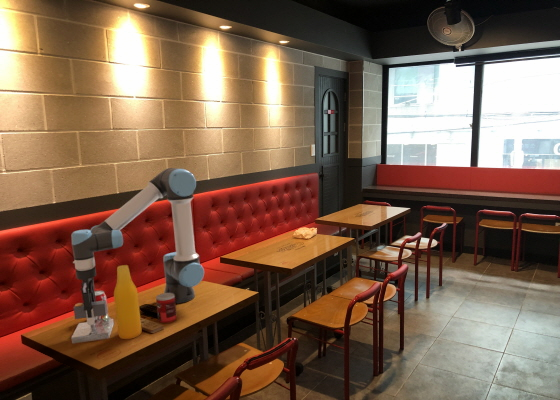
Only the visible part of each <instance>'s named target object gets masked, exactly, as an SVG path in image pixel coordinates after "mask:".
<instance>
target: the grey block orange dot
mask: <svg viewBox="0 0 560 400" xmlns="http://www.w3.org/2000/svg"><path fill="white" fill-rule="evenodd" d="M107 307H108V303H107V304H106V300H104V301H96V302H92V309H93V312H94V317H96V316H104V315H106V314H107ZM83 309H84V304H83V302H78V303H75V305H74V306H73V315H74V319H75V320H79V319H87V316H86V311H84V310H83ZM90 326H91V328H94V327H95V324H92V325H90Z"/></svg>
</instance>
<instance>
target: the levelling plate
mask: <svg viewBox="0 0 560 400" xmlns="http://www.w3.org/2000/svg"><path fill="white" fill-rule="evenodd" d="M114 324H115V323H114V318H111V316H109V313H108V314H106V315H105V316H104V318H103V320H99V321H96V320H95V327H94V328H91V326H90V325H88V324H87V321H86V322H78V324H77V326H76V328H75V330H74V332H73V333H72V335H71V344H78V343H84V342H93V341H100V340H107V339H110V336H111V333H112V330H113V327H114Z"/></svg>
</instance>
